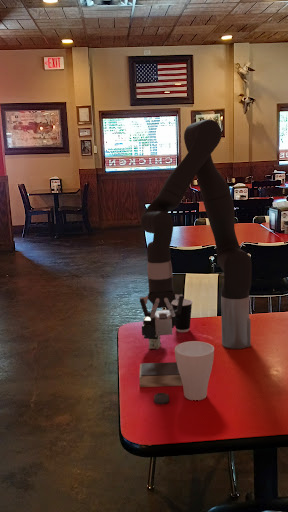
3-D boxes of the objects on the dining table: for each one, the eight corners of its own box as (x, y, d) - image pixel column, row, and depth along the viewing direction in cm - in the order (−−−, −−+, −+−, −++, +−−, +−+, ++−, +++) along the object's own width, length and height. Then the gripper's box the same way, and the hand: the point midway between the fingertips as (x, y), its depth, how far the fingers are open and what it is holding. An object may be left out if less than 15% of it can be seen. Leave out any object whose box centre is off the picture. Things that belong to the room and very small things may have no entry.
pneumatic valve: (165, 341, 171) (164, 308, 169) (156, 354, 160) (155, 319, 158) (150, 340, 173) (149, 308, 171) (140, 353, 162) (139, 318, 160)
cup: (175, 387, 137) (173, 341, 134) (212, 386, 136) (212, 340, 134) (176, 405, 126) (175, 356, 124) (217, 404, 126) (216, 355, 123)
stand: (180, 372, 146) (180, 361, 146) (182, 385, 137) (181, 374, 137) (140, 373, 147) (140, 362, 146) (139, 387, 138) (139, 375, 137)
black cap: (170, 398, 131) (170, 393, 130) (167, 406, 127) (167, 400, 127) (155, 397, 132) (155, 392, 131) (152, 404, 128) (152, 399, 127)
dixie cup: (167, 331, 181) (166, 302, 179) (180, 325, 187) (179, 297, 185) (185, 335, 177) (184, 306, 174) (197, 328, 183) (196, 300, 180)
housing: (155, 325, 157) (154, 307, 156) (170, 324, 157) (169, 306, 156) (156, 335, 148) (154, 316, 147) (172, 334, 148) (171, 315, 147)
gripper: (182, 271, 153) (185, 322, 156) (136, 274, 153) (140, 325, 156) (184, 276, 145) (187, 330, 148) (136, 279, 145) (140, 333, 149)
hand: (163, 327), depth 152 cm, fingers closed on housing, 5 cm apart
